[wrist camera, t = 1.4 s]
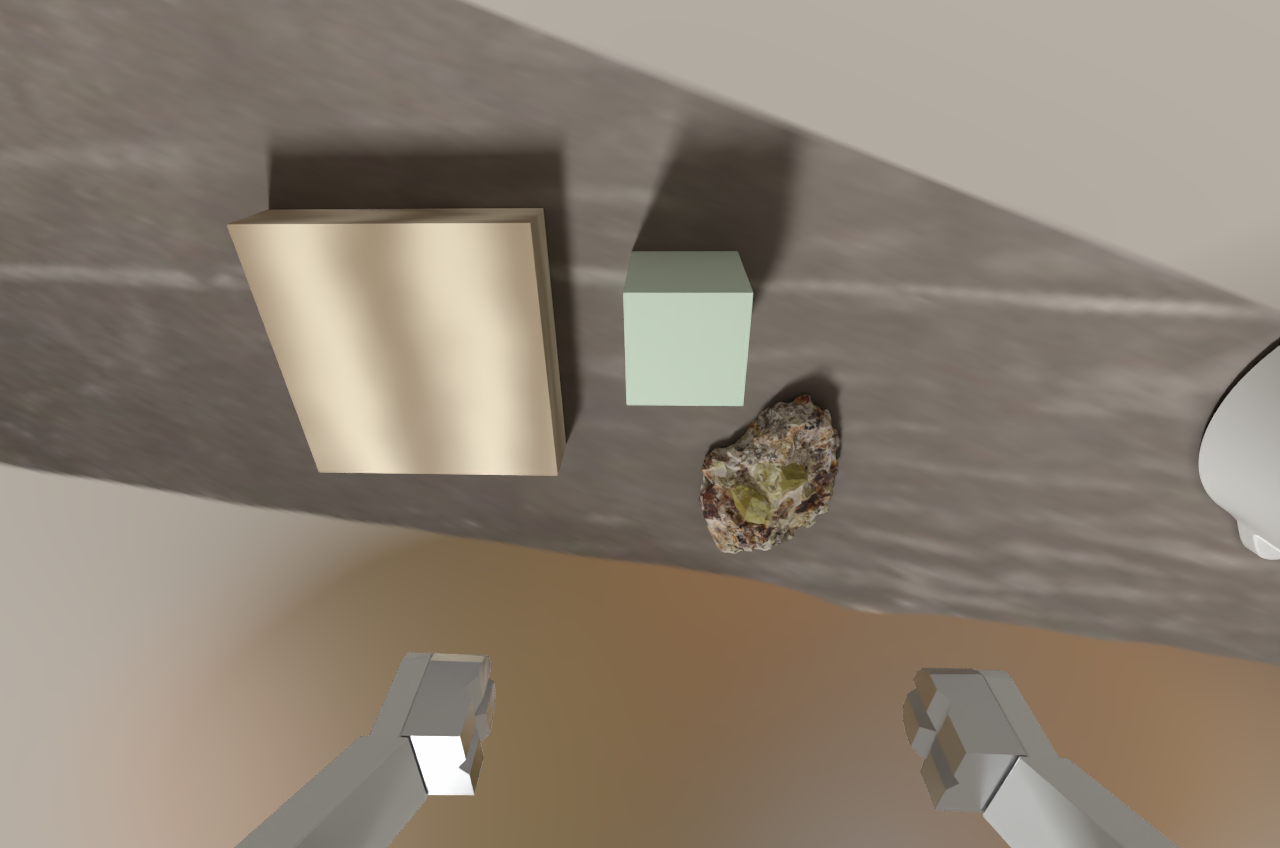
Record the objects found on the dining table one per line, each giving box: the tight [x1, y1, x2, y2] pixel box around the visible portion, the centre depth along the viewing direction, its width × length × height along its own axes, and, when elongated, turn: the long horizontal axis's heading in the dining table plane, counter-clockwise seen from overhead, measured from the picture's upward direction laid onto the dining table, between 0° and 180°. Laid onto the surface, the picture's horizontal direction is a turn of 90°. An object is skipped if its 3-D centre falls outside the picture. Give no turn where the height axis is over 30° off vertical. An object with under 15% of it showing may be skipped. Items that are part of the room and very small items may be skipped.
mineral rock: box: [699, 394, 841, 555], centre depth 33 cm, size 11×4×8 cm
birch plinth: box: [227, 208, 566, 476], centre depth 29 cm, size 13×13×3 cm
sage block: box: [623, 251, 753, 406], centre depth 26 cm, size 5×5×6 cm
